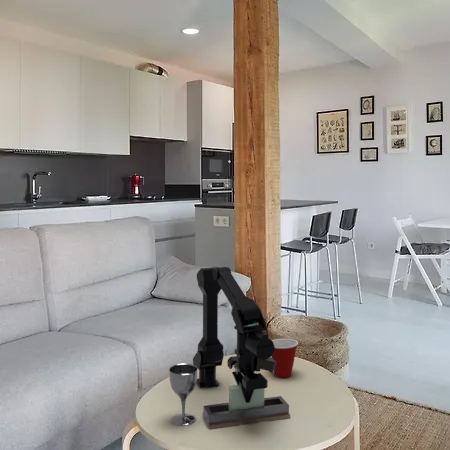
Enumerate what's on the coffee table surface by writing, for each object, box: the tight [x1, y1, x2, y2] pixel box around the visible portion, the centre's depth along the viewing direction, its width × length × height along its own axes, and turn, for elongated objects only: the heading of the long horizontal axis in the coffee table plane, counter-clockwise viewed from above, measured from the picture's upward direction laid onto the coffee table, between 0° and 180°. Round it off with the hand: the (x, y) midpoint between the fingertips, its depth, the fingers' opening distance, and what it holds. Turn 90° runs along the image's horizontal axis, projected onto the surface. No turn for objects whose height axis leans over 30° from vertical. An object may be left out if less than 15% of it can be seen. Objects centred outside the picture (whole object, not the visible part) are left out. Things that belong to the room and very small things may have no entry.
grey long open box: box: [202, 395, 291, 430], centre depth 146 cm, size 8×24×4 cm, turn 106°
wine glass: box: [168, 363, 198, 427], centre depth 144 cm, size 8×8×15 cm
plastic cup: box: [271, 338, 299, 379], centre depth 176 cm, size 11×11×12 cm
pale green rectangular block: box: [228, 384, 266, 411], centre depth 145 cm, size 2×10×8 cm, turn 106°
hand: (246, 400), depth 145 cm, fingers open, 3 cm apart
